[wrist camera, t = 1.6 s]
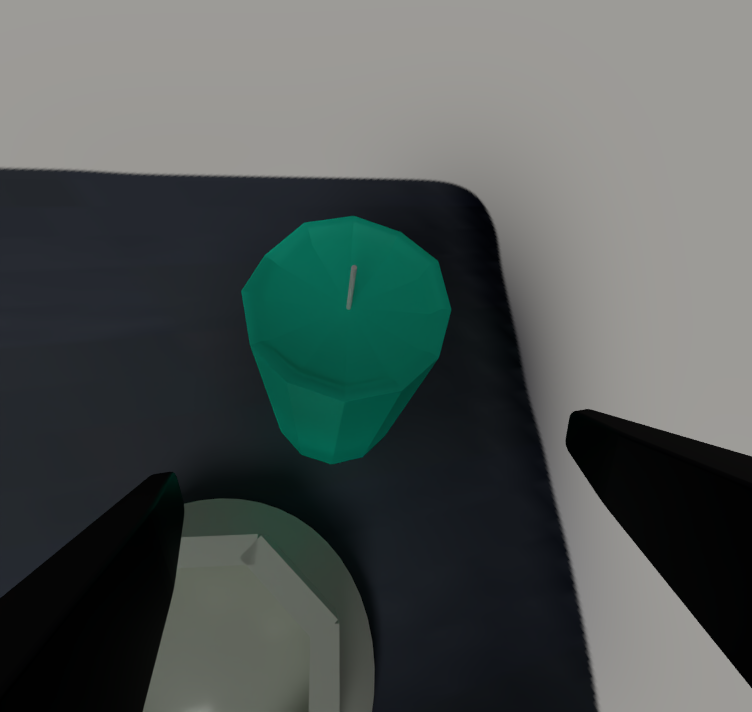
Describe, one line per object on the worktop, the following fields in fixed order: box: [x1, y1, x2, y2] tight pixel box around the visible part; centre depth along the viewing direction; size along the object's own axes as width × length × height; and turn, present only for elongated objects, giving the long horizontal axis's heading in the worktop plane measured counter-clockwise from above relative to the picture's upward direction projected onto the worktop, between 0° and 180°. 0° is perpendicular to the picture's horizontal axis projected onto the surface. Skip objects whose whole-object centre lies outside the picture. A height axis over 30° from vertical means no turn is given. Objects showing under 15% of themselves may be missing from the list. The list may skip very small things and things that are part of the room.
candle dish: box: [143, 498, 375, 712], centre depth 14 cm, size 13×13×4 cm
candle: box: [241, 216, 451, 464], centre depth 16 cm, size 6×6×12 cm
